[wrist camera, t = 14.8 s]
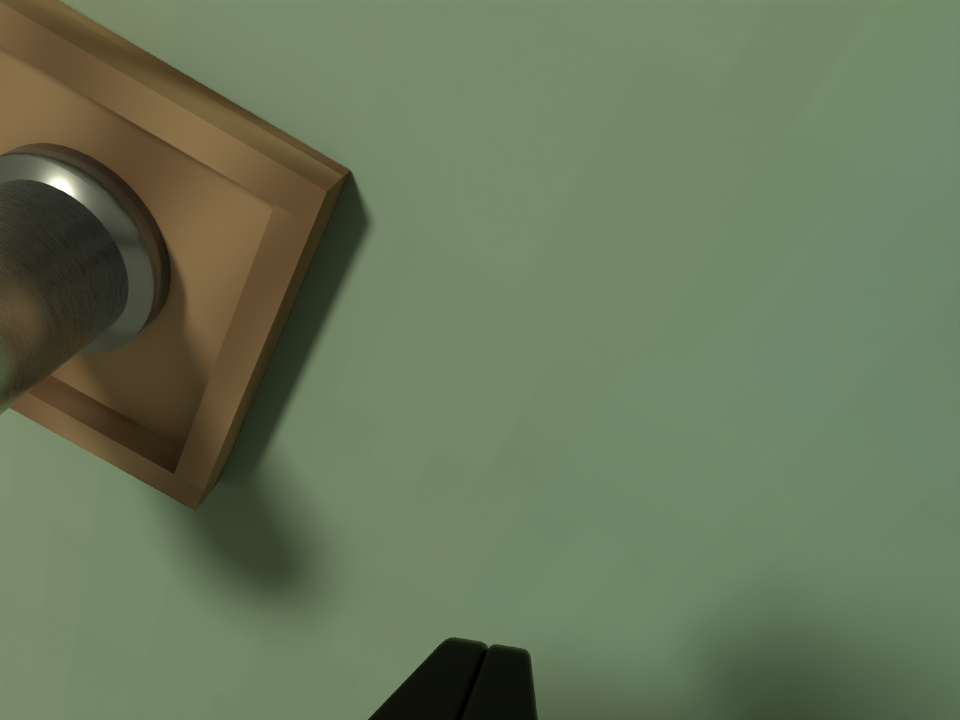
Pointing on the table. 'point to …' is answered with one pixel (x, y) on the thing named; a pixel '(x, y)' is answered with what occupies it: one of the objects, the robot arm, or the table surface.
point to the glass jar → (71, 263)
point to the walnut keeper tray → (168, 242)
